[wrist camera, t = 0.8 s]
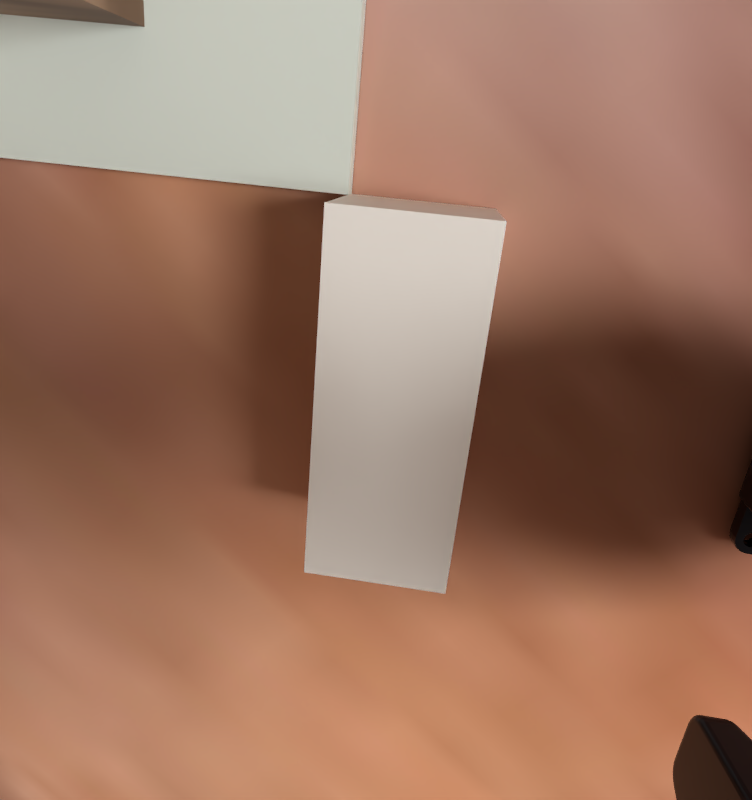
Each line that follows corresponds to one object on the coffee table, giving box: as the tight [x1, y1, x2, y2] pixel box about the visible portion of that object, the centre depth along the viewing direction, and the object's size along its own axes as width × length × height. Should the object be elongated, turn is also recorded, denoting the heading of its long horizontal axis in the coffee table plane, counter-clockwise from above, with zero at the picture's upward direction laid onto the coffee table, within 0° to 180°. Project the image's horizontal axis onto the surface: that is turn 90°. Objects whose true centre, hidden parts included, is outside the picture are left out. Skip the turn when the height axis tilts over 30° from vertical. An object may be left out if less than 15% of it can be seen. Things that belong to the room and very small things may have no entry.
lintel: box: [304, 194, 507, 594], centre depth 17 cm, size 4×10×4 cm, turn 175°
